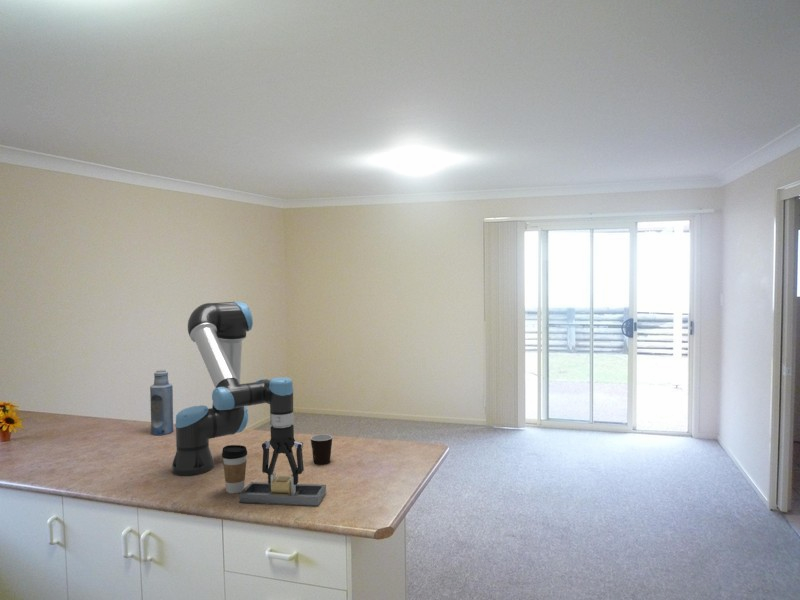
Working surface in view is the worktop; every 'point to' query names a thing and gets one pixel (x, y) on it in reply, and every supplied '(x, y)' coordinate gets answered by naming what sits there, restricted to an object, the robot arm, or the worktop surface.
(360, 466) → the worktop surface
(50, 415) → the worktop surface
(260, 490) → the grey divided tray
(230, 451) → the coffee cup
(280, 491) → the recessed panel cube
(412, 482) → the worktop surface
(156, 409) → the bottle
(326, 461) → the coffee mug
